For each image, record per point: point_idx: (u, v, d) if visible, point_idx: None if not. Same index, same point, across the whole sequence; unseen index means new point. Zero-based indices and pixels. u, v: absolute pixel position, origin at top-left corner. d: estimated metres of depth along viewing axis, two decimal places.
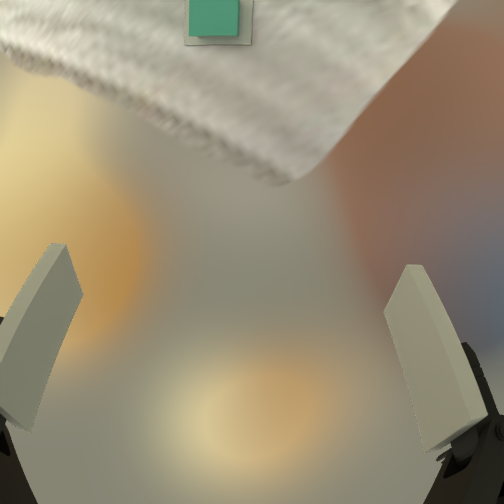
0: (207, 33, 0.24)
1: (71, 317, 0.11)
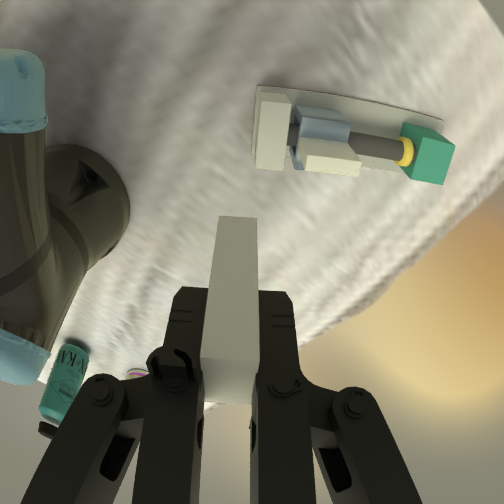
0: (446, 169, 0.26)
1: None
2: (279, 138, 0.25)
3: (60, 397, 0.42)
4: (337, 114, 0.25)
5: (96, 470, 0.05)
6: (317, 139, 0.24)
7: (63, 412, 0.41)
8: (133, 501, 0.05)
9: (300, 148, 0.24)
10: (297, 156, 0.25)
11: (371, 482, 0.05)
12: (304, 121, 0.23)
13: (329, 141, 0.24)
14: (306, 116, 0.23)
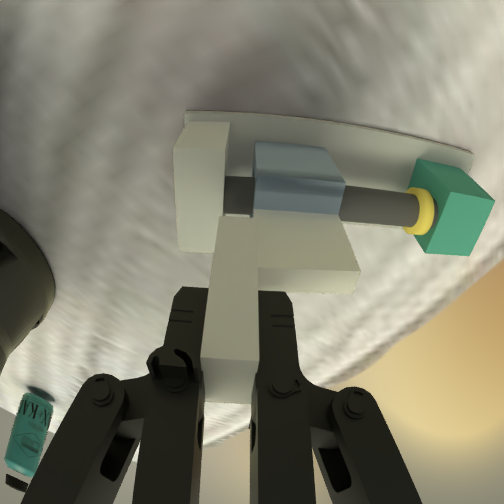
0: (477, 235, 0.17)
1: None
2: (210, 207, 0.16)
3: (23, 452, 0.33)
4: (323, 158, 0.16)
5: (96, 471, 0.05)
6: (285, 213, 0.15)
7: (27, 466, 0.32)
8: (133, 501, 0.05)
9: None
10: None
11: (371, 482, 0.05)
12: (261, 183, 0.14)
13: (305, 216, 0.14)
14: (265, 173, 0.14)
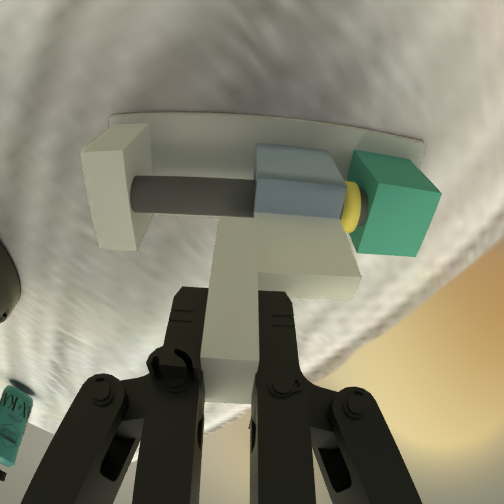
0: (423, 233, 0.17)
1: None
2: (118, 206, 0.16)
3: (1, 442, 0.32)
4: (325, 161, 0.16)
5: (96, 471, 0.05)
6: (286, 217, 0.14)
7: (5, 456, 0.31)
8: (133, 501, 0.05)
9: None
10: None
11: (370, 482, 0.05)
12: (261, 186, 0.14)
13: (306, 220, 0.14)
14: (266, 176, 0.14)
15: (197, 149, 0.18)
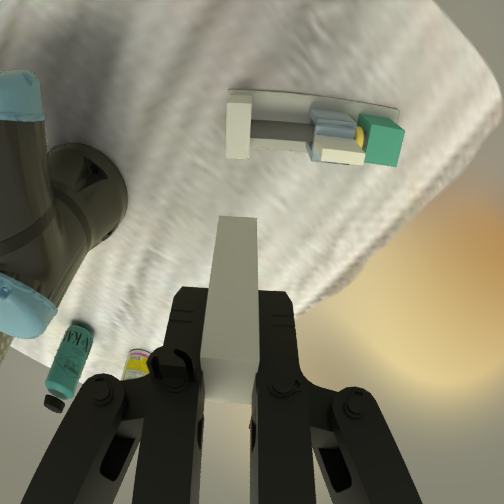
0: (398, 152, 0.31)
1: None
2: (243, 132, 0.31)
3: (65, 372, 0.48)
4: (345, 116, 0.31)
5: (96, 470, 0.05)
6: (329, 136, 0.29)
7: (67, 386, 0.47)
8: (133, 501, 0.05)
9: (316, 143, 0.29)
10: (313, 150, 0.31)
11: (371, 482, 0.05)
12: (319, 122, 0.29)
13: (339, 138, 0.29)
14: (320, 118, 0.29)
15: (277, 111, 0.33)
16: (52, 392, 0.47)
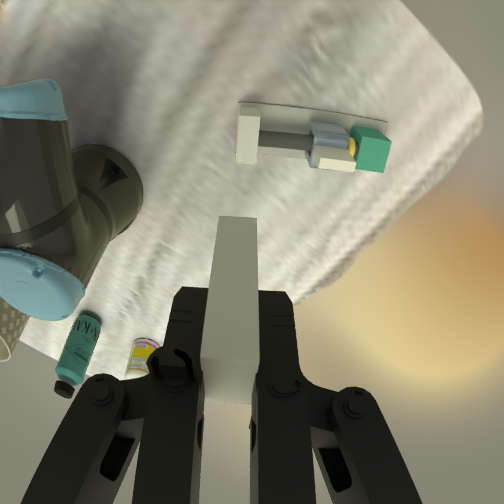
0: (385, 160, 0.37)
1: None
2: (252, 141, 0.36)
3: (75, 359, 0.53)
4: (340, 128, 0.36)
5: (96, 470, 0.05)
6: (326, 146, 0.35)
7: (78, 372, 0.52)
8: (133, 501, 0.05)
9: (314, 152, 0.34)
10: (312, 158, 0.36)
11: (371, 482, 0.05)
12: (317, 134, 0.34)
13: (334, 148, 0.35)
14: (318, 130, 0.34)
15: (281, 122, 0.39)
16: (62, 378, 0.51)
